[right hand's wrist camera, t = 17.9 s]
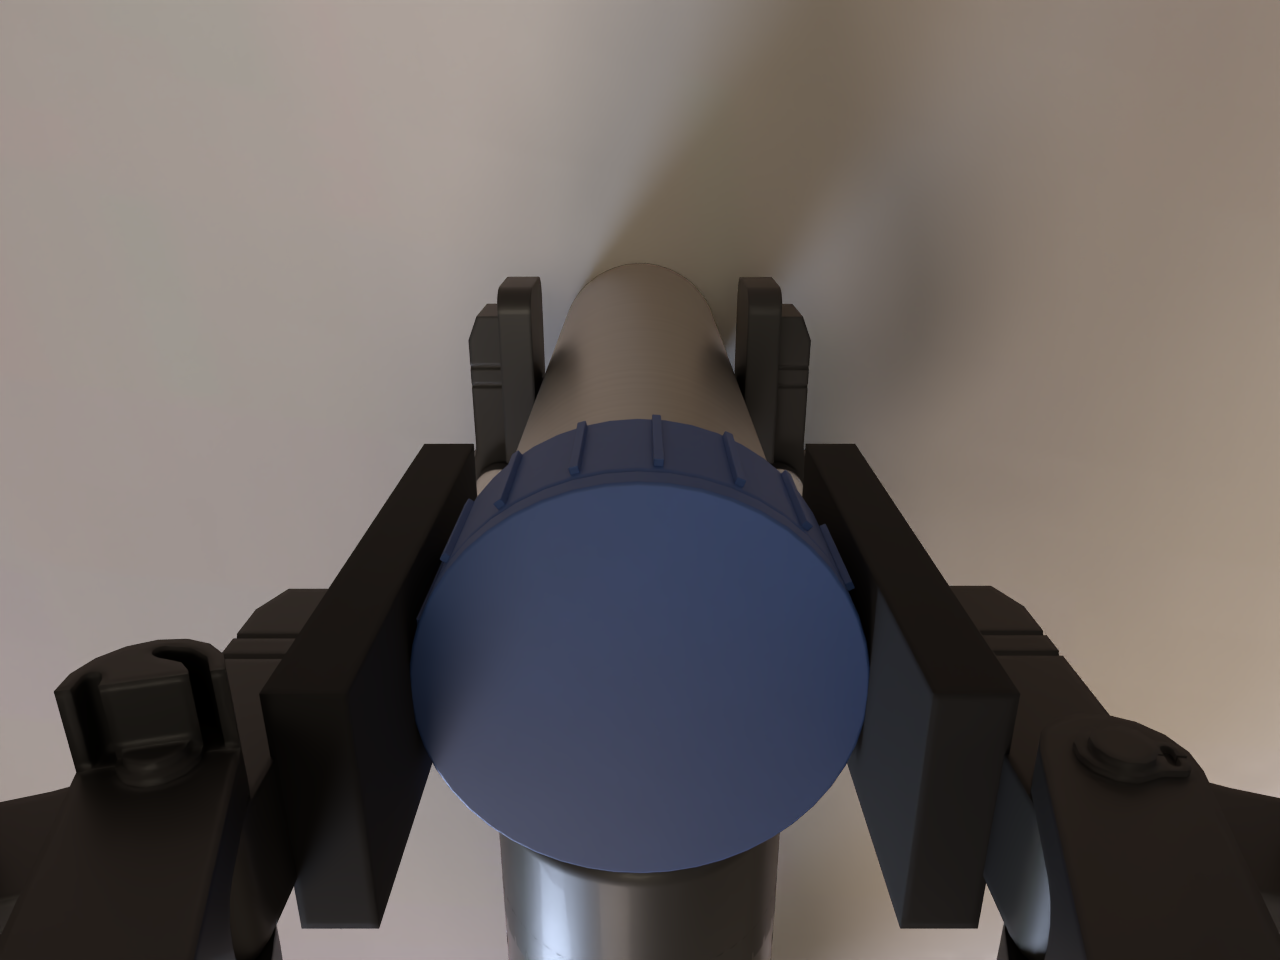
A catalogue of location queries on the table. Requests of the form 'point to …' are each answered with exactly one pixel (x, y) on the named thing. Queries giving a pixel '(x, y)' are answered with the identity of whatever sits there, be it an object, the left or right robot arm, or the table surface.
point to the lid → (639, 650)
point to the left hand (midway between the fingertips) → (638, 286)
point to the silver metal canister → (639, 360)
